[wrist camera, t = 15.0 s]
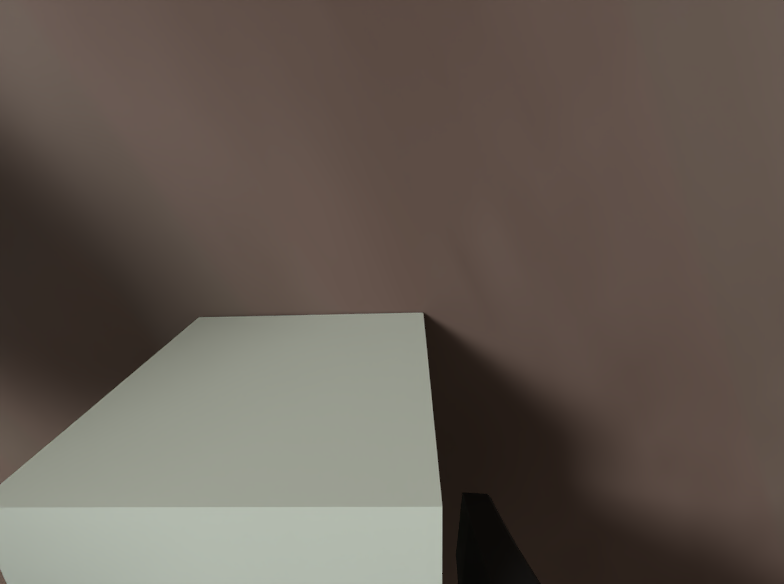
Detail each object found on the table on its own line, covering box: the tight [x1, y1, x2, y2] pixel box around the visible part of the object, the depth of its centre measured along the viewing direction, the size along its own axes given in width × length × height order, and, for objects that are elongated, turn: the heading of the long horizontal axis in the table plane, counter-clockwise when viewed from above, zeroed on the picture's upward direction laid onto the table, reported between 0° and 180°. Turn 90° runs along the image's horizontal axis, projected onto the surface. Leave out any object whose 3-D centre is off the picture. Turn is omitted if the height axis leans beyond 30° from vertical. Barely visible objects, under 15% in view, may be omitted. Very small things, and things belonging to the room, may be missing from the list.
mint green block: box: [0, 313, 442, 584], centre depth 10 cm, size 10×6×6 cm, turn 2°
